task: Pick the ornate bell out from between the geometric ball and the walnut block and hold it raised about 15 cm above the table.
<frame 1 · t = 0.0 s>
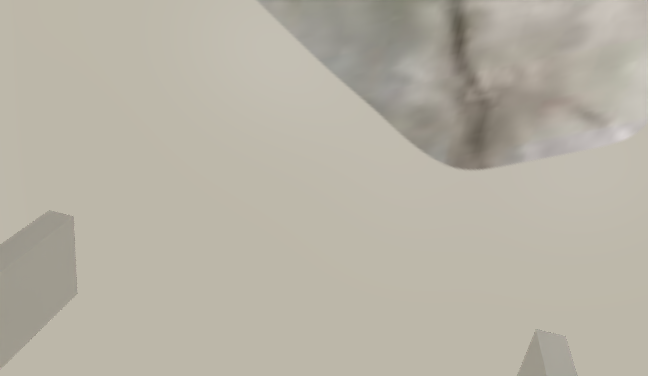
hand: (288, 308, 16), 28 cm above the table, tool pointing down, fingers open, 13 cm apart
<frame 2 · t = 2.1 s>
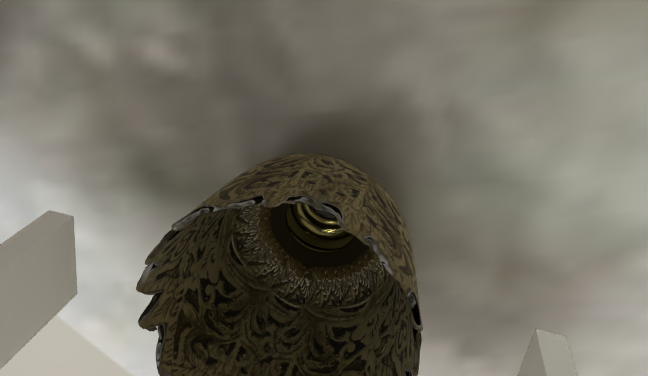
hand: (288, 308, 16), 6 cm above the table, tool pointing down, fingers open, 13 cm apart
ornate bell: (331, 196, 21), on the table
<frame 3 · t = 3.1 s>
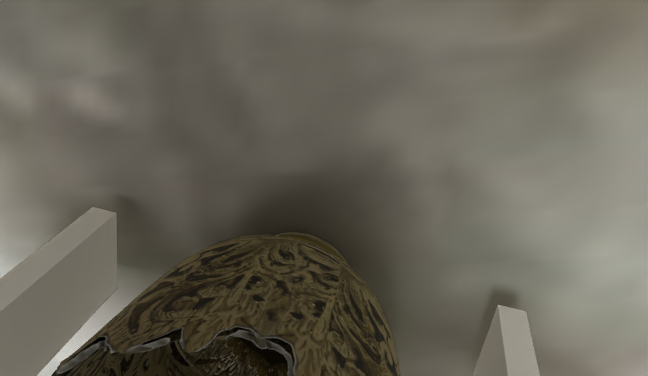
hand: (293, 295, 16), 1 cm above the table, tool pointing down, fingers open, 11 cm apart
ornate bell: (303, 271, 17), on the table
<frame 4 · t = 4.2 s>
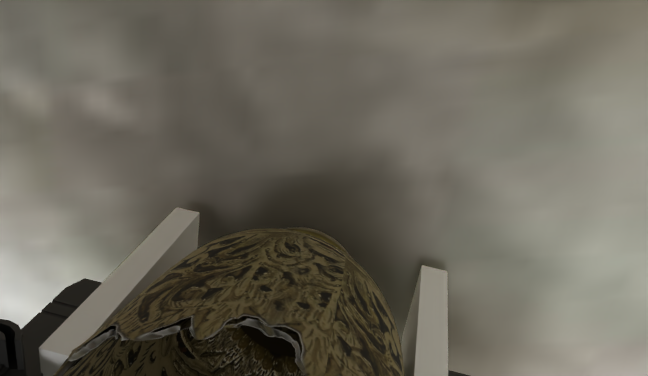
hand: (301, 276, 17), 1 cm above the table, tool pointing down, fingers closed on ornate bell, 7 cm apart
ornate bell: (307, 266, 18), on the table, touching gripper
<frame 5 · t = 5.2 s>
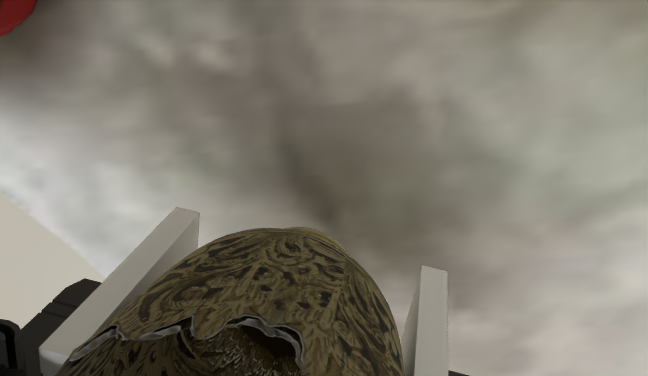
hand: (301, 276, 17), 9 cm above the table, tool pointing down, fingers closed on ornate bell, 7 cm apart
ornate bell: (307, 266, 18), point 9 cm above the table, touching gripper
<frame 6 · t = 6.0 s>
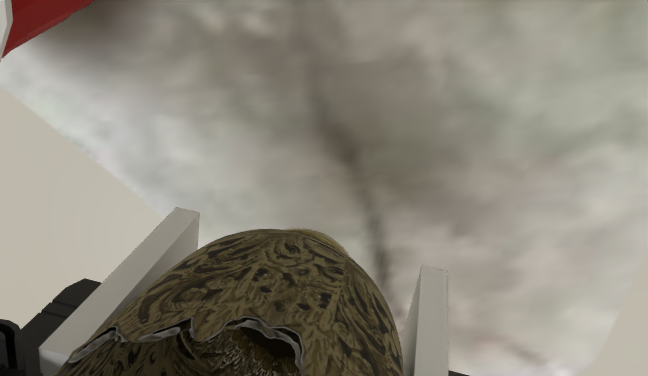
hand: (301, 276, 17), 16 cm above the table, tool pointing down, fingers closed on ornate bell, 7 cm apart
ornate bell: (307, 267, 18), point 15 cm above the table, touching gripper
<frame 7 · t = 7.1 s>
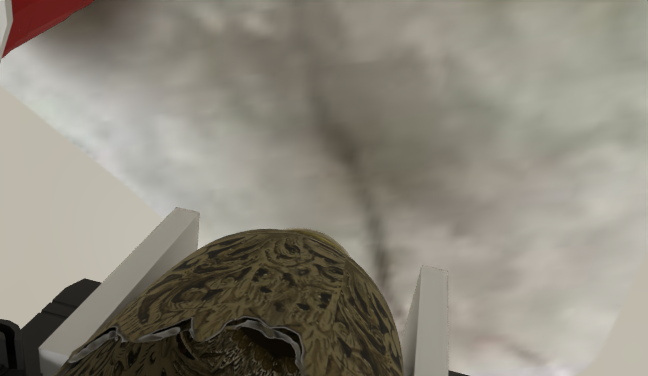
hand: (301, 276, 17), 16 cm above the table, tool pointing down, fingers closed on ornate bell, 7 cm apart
ornate bell: (307, 267, 18), point 15 cm above the table, touching gripper
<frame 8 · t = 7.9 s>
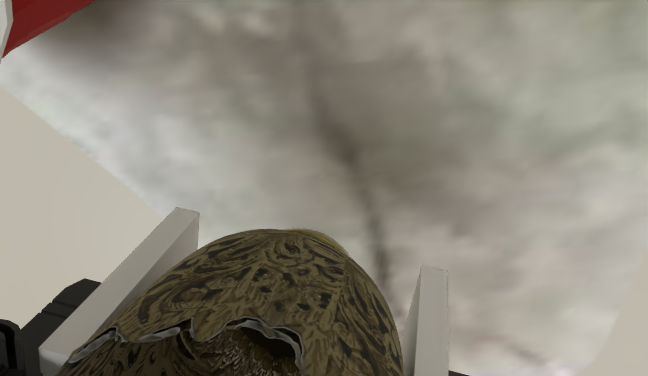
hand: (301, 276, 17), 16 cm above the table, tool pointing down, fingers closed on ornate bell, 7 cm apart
ornate bell: (307, 267, 18), point 15 cm above the table, touching gripper
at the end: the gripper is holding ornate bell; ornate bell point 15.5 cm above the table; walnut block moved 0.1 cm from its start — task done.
